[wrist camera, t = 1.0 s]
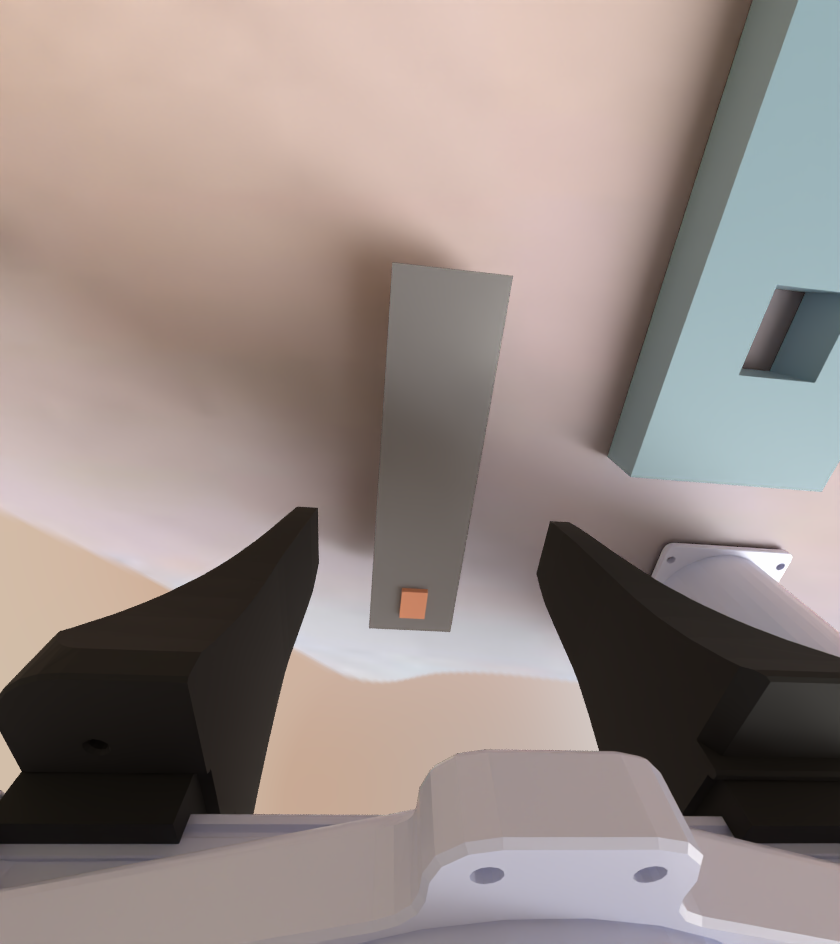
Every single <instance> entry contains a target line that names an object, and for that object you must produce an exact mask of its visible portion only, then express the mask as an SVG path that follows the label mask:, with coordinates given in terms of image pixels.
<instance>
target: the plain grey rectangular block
mask: <svg viewBox="0 0 840 944" xmlns="http://www.w3.org/2000/svg"><path fill="white" fill-rule="evenodd" d="M512 279H513V276H509V275H501V274H492V273H483V272H474V271H465V270H456V269H447V268H438V267H430V266H421V265H412V264H403V263H394V262H392V276H391V292H390V307H389V323H388V339H387V354H386V370H385V386H384V401H383V417H382V433H381V449H380V464H379V480H378V496H377V511H376V527H375V543H374V559H373V574H372V590H371V606H370V621H369V628H377V629H399V630H421V631H442V632H450V630H451V624H452V618H453V613H454V607H455V602H456V596H457V590H458V585H459V579H460V573H461V568H462V562H463V556H464V551H465V545H466V539H467V534H468V528H469V522H470V517H471V511H472V505H473V500H474V494H475V488H476V483H477V477H478V471H479V466H480V460H481V454H482V449H483V443H484V437H485V432H486V426H487V420H488V415H489V409H490V404H491V398H492V392H493V387H494V381H495V375H496V370H497V364H498V358H499V353H500V347H501V341H502V336H503V330H504V324H505V319H506V313H507V307H508V302H509V296H510V290H511V285H512Z"/></svg>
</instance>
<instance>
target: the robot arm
mask: <svg viewBox="0 0 840 944" xmlns="http://www.w3.org/2000/svg"><path fill="white" fill-rule="evenodd" d="M669 557H671V558H669ZM668 558H669V559H668ZM791 560H792V555H791V554H790V553H789V552H787V551H786V550H778V549H762V548H747V547H732V546H716V545H701V544H685V543H669V544H667V545H666V546H665V547H664V548H663V550H662V552H661V555H660V557H659V559H658V562H657V564H656V567H655V569H654V571H653V574H652V576H649V575H648V574H646V573H645V572H643V571H641V570H640V569H638V568H637V567H635V566H633V565H632V564H630V563H629V562H627V561H626V560H624V559H623V558H621V557H620V556H619V555H617V554H616V553H614V552H613V551H611V550H610V549H608V548H607V547H606V546H604V545H603V544H601V543H600V542H598V541H597V540H596V539H594V538H593V537H591V536H590V535H588V534H587V533H585V532H584V531H583V530H581V529H580V528H578V527H576V526H575V525H573V524H571V523H569V522H554V521H550V524H549V528H548V532H547V536H546V539H545V543H544V547H543V551H542V555H541V558H540V562H539V566H538V570H537V577H538V581H539V585H540V589H541V592H542V596H543V599H544V602H545V605H546V607H547V610H548V612H549V614H550V617H551V619H552V621H553V624H554V626H555V628H556V630H557V633H558V635H559V637H560V640H561V642H562V644H563V646H564V649H565V651H566V653H567V655H568V658H569V660H570V662H571V665H572V667H573V669H574V672H575V675H576V677H577V680H578V683H579V686H580V689H581V692H582V695H583V698H584V701H585V704H586V708H587V711H588V713H589V717H590V720H591V724H592V728H593V731H594V735H595V738H596V741H597V745H598V748H599V751H560V750H555V751H554V750H500V749H484V750H477V751H470V752H463V753H457V754H455V755H453V756H451V757H449V758H448V759H446V760H444V761H442V762H440V763H438V764H436V765H435V766H434V767H433V768H432V769H431V770H430V771H429V773H428V775H427V776H426V778H425V779H424V781H423V783H422V784H421V786H420V787H419V793H418V800H417V806H416V809H414V810H409V811H404V812H398V813H393V814H388V815H282V814H281V815H280V814H278V815H277V814H275V815H274V814H271V815H270V814H269V815H268V814H266V815H265V814H253V813H254V808H255V803H256V798H257V793H258V789H259V784H260V779H261V774H262V770H263V765H264V761H265V756H266V751H267V747H268V742H269V737H270V734H271V729H272V725H273V720H274V716H275V712H276V707H277V703H278V699H279V695H280V691H281V687H282V683H283V679H284V674H285V671H286V667H287V664H288V661H289V658H290V655H291V652H292V649H293V646H294V644H295V641H296V638H297V635H298V632H299V629H300V627H301V624H302V621H303V618H304V615H305V613H306V610H307V607H308V604H309V601H310V598H311V595H312V592H313V588H314V583H315V579H316V574H317V569H318V564H319V551H318V508H310V507H296V508H295V509H294V510H293V511H291V512H290V513H289V514H288V515H287V516H285V517H284V518H283V519H282V520H281V521H279V522H278V523H277V524H276V525H275V526H274V527H272V528H271V529H270V530H269V531H267V532H266V533H265V534H264V535H262V536H261V537H260V538H259V539H257V540H256V541H255V542H253V543H252V544H251V545H249V546H248V547H246V548H245V549H244V550H242V551H241V552H239V553H238V554H237V555H235V556H234V557H232V558H231V559H229V560H228V561H226V562H224V563H223V564H221V565H220V566H218V567H216V568H214V569H213V570H211V571H209V572H207V573H206V574H204V575H202V576H200V577H198V578H197V579H194V580H192V581H190V582H188V583H186V584H184V585H182V586H180V587H178V588H176V589H174V590H172V591H170V592H168V593H166V594H164V595H161V596H159V597H157V598H154V599H152V600H149V601H147V602H145V603H142V604H140V605H137V606H134V607H132V608H129V609H127V610H124V611H121V612H119V613H116V614H113V615H110V616H107V617H104V618H101V619H98V620H95V621H91V622H88V623H85V624H82V625H79V626H76V627H73V628H70V629H66V630H63V631H60V632H58V633H57V634H56V636H54V637H53V638H52V639H51V640H50V641H49V643H47V644H46V646H45V647H44V648H43V649H42V650H41V651H40V652H39V653H38V654H37V655H36V656H35V657H34V658H33V659H32V660H31V661H30V662H29V663H28V664H27V665H26V666H25V667H24V668H23V669H22V670H21V671H20V672H19V673H18V675H16V676H15V678H13V679H12V681H11V682H10V683H9V684H8V685H7V686H6V687H5V688H4V689H3V690H2V692H1V693H0V732H1V734H2V736H3V738H4V739H5V741H6V743H7V745H8V747H9V749H10V751H11V752H12V754H13V756H14V758H15V760H16V762H17V764H18V765H19V767H20V769H21V771H22V772H21V773H20V775H19V776H18V777H17V778H16V780H15V781H14V782H13V784H12V785H11V786H10V788H9V789H8V790H7V792H6V793H4V792H2V791H1V790H0V944H840V632H838V631H837V630H836V629H835V628H833V627H832V626H831V625H830V624H829V623H827V622H826V621H825V620H824V619H822V618H821V617H820V616H819V615H817V614H816V613H815V612H814V611H813V610H811V609H810V608H809V607H808V606H806V605H805V604H804V603H803V602H802V601H800V600H799V599H798V598H797V597H795V596H794V595H793V594H792V593H791V592H789V591H788V590H787V589H786V588H784V587H783V586H782V585H781V584H780V583H778V582H779V580H780V579H781V577H782V575H783V574H784V572H785V570H786V569H787V567H788V565H789V564H790V562H791Z"/></svg>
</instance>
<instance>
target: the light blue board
mask: <svg viewBox="0 0 840 944" xmlns="http://www.w3.org/2000/svg"><path fill="white" fill-rule="evenodd" d="M775 289H781V290H789V291H798V292H805V295H804V297H803V299H802V301H801V303H800V306H799V308H798V310H797V312H796V314H795V317H794V319H793V321H792V323H791V325H790V328H789V330H788V332H787V334H786V336H785V339H784V341H783V343H782V345H781V347H780V349H779V352H778V354H777V356H776V358H775V360H774V363H773V365H772V367H771V369H770V371H764V370H754V369H743V368H742V366H743V364H744V362H745V359H746V357H747V355H748V352H749V350H750V348H751V345H752V343H753V340H754V338H755V336H756V333H757V331H758V329H759V326H760V324H761V322H762V319H763V317H764V315H765V312H766V310H767V308H768V305H769V303H770V301H771V298H772V296H773V294H774V291H775ZM607 457H608V458H610V459H611V460H612V461H613V462H614V463H615V464H616V465H618V466H619V467H620V468H621V469H622V470H623V471H624V472H625V473H627V474H628V475H629V476H630V477H637V478H650V479H663V480H676V481H689V482H702V483H715V484H728V485H741V486H754V487H767V488H780V489H793V490H806V491H819V492H822V490H823V489H824V487H825V485H826V483H827V482H828V480H829V478H830V476H831V475H832V473H833V471H834V470H835V468H836V466H837V464H838V463H839V461H840V0H752V4H751V7H750V10H749V13H748V16H747V19H746V22H745V26H744V29H743V32H742V35H741V38H740V41H739V44H738V48H737V51H736V54H735V57H734V60H733V63H732V66H731V70H730V73H729V76H728V79H727V82H726V85H725V88H724V92H723V95H722V98H721V101H720V104H719V107H718V111H717V114H716V117H715V120H714V123H713V126H712V129H711V133H710V136H709V139H708V142H707V145H706V148H705V151H704V155H703V158H702V161H701V164H700V167H699V170H698V173H697V177H696V180H695V183H694V186H693V189H692V192H691V195H690V199H689V202H688V205H687V208H686V211H685V214H684V217H683V221H682V224H681V227H680V230H679V233H678V236H677V239H676V243H675V246H674V249H673V252H672V255H671V258H670V261H669V265H668V268H667V271H666V274H665V277H664V280H663V283H662V287H661V290H660V293H659V296H658V299H657V302H656V305H655V309H654V312H653V315H652V318H651V321H650V324H649V327H648V331H647V334H646V337H645V340H644V343H643V346H642V349H641V353H640V356H639V359H638V362H637V365H636V368H635V371H634V375H633V378H632V381H631V384H630V387H629V390H628V393H627V397H626V400H625V403H624V406H623V409H622V412H621V415H620V419H619V422H618V425H617V428H616V431H615V434H614V437H613V441H612V444H611V447H610V450H609V453H608V456H607Z"/></svg>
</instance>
